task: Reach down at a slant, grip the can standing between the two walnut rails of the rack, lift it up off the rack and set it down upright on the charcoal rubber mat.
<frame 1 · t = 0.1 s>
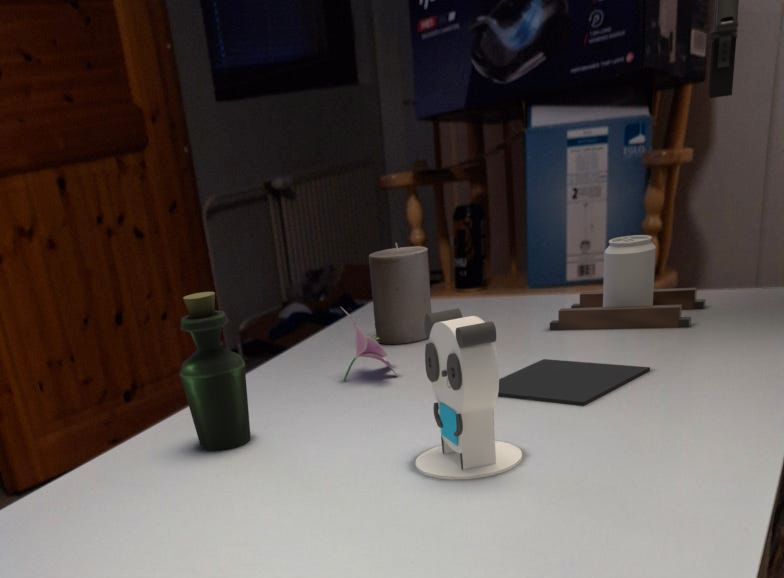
hand: (719, 95, 129), 29 cm above the table, tool pointing down, fingers open, 13 cm apart
pillar candle: (405, 338, 157), on the table
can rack: (627, 318, 147), on the table
can: (627, 319, 147), on the table
mat: (561, 382, 121), on the table
lily: (371, 377, 137), on the table
panda figurine: (467, 461, 101), on the table
potion bottle: (226, 444, 118), on the table
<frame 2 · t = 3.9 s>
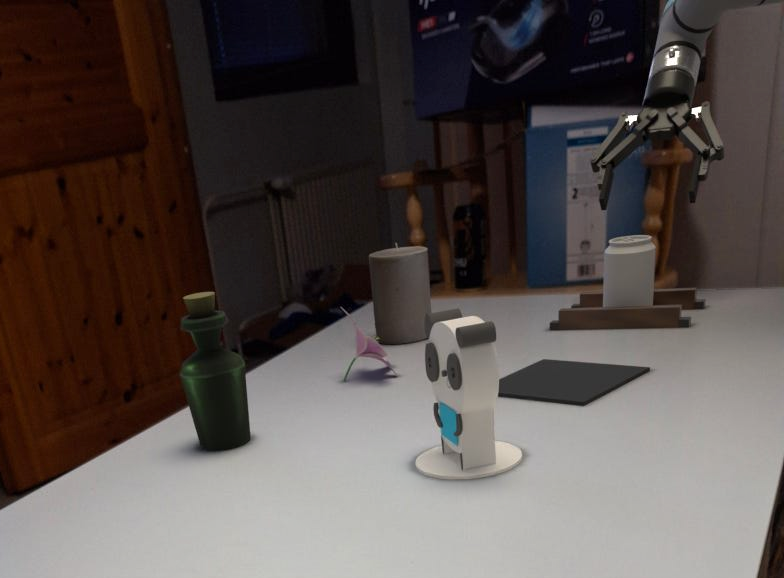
hand: (646, 201, 147), 16 cm above the table, tool tilted 45°, fingers open, 13 cm apart
nothing on the table moved.
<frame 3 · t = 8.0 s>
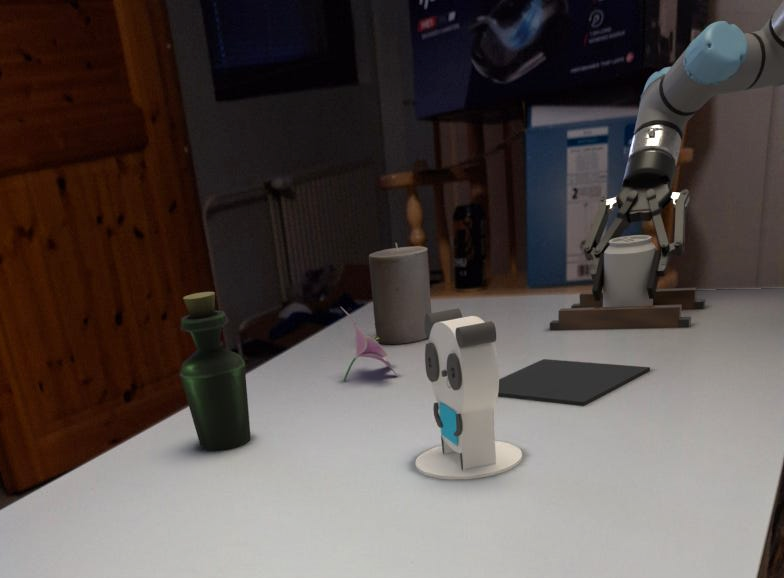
hand: (622, 294, 143), 4 cm above the table, tool tilted 45°, fingers closed on can, 7 cm apart
can: (627, 319, 147), on the table, touching gripper
everything else where it was.
when the fingers open (5 cm above the table, at t = 19.4 s): can stays where it is, resting on mat.
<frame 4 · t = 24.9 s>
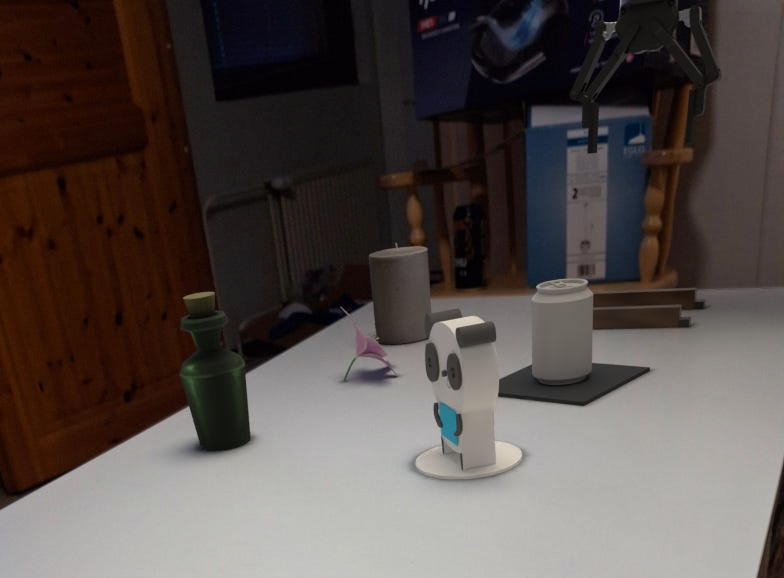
hand: (639, 148, 135), 24 cm above the table, tool pointing down, fingers open, 13 cm apart
can: (561, 380, 121), resting on mat
everything else where it was.
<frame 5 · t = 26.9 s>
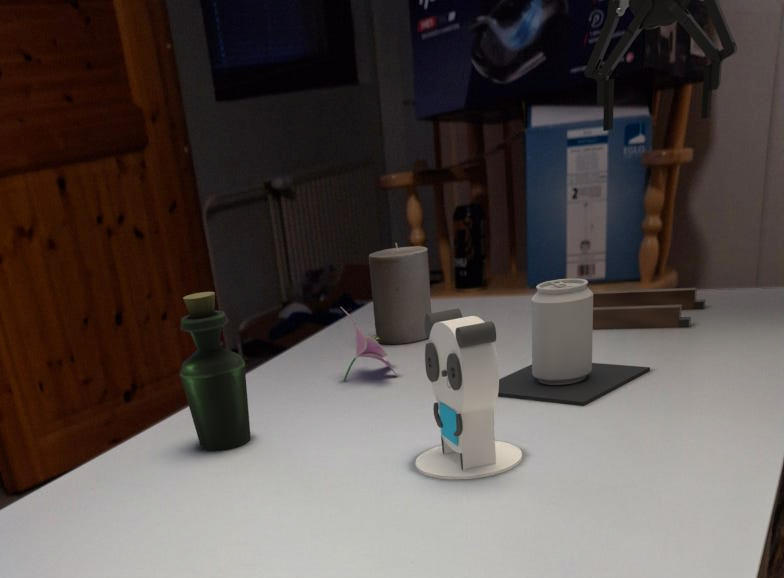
hand: (655, 124, 135), 27 cm above the table, tool pointing down, fingers open, 13 cm apart
nothing on the table moved.
at the end: can inside the target area on the mat (0.1 cm from its centre), point 0.3 cm above the mat's base; can tilted 0°; the gripper is holding nothing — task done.
